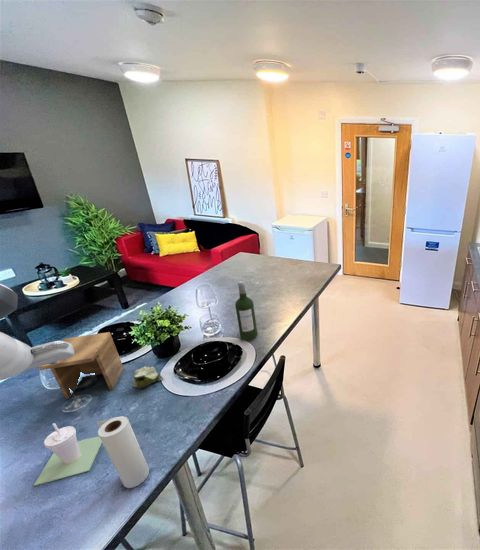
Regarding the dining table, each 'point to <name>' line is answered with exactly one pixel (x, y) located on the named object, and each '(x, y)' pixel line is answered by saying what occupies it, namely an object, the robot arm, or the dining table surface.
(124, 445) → the paper towel roll
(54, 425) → the smoothie
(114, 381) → the desk
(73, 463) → the mat
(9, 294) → the robot arm
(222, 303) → the dining table surface
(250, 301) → the wine bottle
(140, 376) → the mossy rock
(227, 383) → the dining table surface
